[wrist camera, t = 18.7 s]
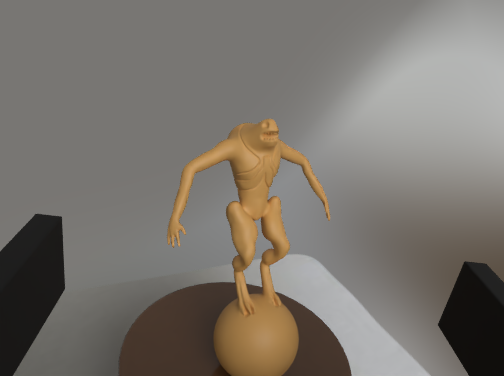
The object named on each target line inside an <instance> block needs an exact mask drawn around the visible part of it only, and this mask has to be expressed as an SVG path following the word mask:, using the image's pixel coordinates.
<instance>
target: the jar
mask: <svg viewBox="0 0 504 376" xmlns="http://www.w3.org/2000/svg"><path fill="white" fill-rule="evenodd" d="M246 286H247V290H248V293H249V294H262V293H263V287H259V286H254V285H249V284H246ZM275 293H276V294H277V295H278V297H279V299H280V300H281V303H282V304H284V305H285V306H286V307H287V309H288V310H289V311H290V312H291V314H292V316H293V317H294V320H295V322H296V325H297V328H298V335H299V344H298V350H297V354H296V356H295V359H294V361H293V363H292V364H291V366H290V367H289V369H288V370H287V371H286V372H285V373H284V374H283V375H281V376H351V370H350V366H349V363H348V359H347V357H346V354H345V352H344V350H343V348H342V346H341V344H340V343H339V341H338V339H337V338H336V336H335V335H334V334H333V332H332V331H331V330H330V328H329V327H328V326H327V325H326V324H325V323H324V322H323V321H322V320H321V319H320V318H319V317H317V316H316V315H315V314H314V313H313V312H312V311H310V310H309V309H307V308H306V307H305V306H303V305H302V304H300V303H298V302H296V301H295V300H293V299H291V298H289V297H287V296H285V295H283V294H280V293H278V292H275ZM237 298H238V296H237V290H236V284H235V283H232V282H216V283H206V284H199V285H194V286H190V287H186V288H183V289H180V290H177V291H175V292H173V293H170V294H168V295H166V296H164V297H163V298H161V299H159V300H158V301H156V302H155V303H153V304H152V305H151V306H149V307H148V308H147V309H146V310H145V311H144V312H143V313H142V314H141V315H140V316H139V317H138V318H137V319H136V321H135V322H134V323H133V324H132V326H131V328H130V329H129V331H128V333H127V335H126V337H125V339H124V342H123V345H122V347H121V352H120V357H119V376H231V375H230V374H229V373H227V372H226V370H225V369H224V368H223V367H222V365H221V364H220V362H219V360H218V358H217V356H216V353H215V349H214V341H213V337H214V329H215V325H216V322H217V320H218V318H219V316H220V314H221V312H222V311H223V310H224V309H225V307H226V306H227V305H228V304H230V303H231V302H232V301H234V300H235V299H237Z"/></svg>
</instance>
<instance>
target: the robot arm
mask: <svg viewBox="0 0 504 376" xmlns="http://www.w3.org/2000/svg"><path fill="white" fill-rule="evenodd" d="M64 289H65V279H64V257H63V235H62V217H59V216H51V215H42V214H35V215H34V217H33V218H32V219H31V220H30V221H29V222H28V223H27V224H26V225H25V226H24V227H23V228H22V229H21V230H20V231H19V232H18V233H17V234H16V235H15V237H14V238H13V239H12V240H11V241H10V242H9V243H8V244H7V245H6V246H5V247H4V248H3V249H2V250H1V251H0V376H13V374H14V373H15V371H16V369H17V368H18V366H19V365H20V363H21V361H22V360H23V358H24V356H25V355H26V353H27V351H28V350H29V348H30V346H31V345H32V343H33V341H34V340H35V338H36V336H37V335H38V333H39V331H40V330H41V328H42V326H43V325H44V323H45V321H46V320H47V318H48V316H49V315H50V313H51V311H52V310H53V308H54V306H55V305H56V303H57V301H58V300H59V298H60V296H61V295H62V293H63V291H64ZM438 326H439V328H440V329H441V331H442V332H443V334H444V336H445V337H446V339H447V340H448V342H449V344H450V345H451V347H452V349H453V350H454V352H455V354H456V355H457V357H458V358H459V360H460V362H461V363H462V365H463V367H464V368H465V370H466V371H467V373H468V375H469V376H504V282H503V281H502V280H501V279H500V278H499V277H498V276H497V275H496V274H495V273H494V272H493V271H492V270H491V269H490V268H489V266H488V265H487V264H483V263H474V262H464V264H463V266H462V269H461V271H460V273H459V276H458V278H457V281H456V283H455V285H454V288H453V290H452V293H451V295H450V297H449V300H448V302H447V304H446V307H445V309H444V311H443V314H442V316H441V319H440V321H439V323H438Z"/></svg>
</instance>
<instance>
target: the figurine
mask: <svg viewBox="0 0 504 376" xmlns="http://www.w3.org/2000/svg"><path fill="white" fill-rule="evenodd" d="M278 132H279V130H278V127H277V125H276V123H275V121H274V120H273V119H266V120H263V121H261V122H260V123H258V124H252V123H243V124H240V125H238V126H236V127H235V128H234V129H233V130H232V131H231V132H230V134H229V136H228V138H227V139H226V140H223V141H221V142H220V143H218V144H217V145H216V146H215V147H214V148H213V149H211V150H210V151H208V152H205V153H204V154H202V155H200V156H198V157H197V158H195V159H193V160H192V161H190V162H189V163H188V164H187V165H186V166H185V167H184V169H183V171H182V175H181V181H180V187H179V190H178V193H177V196H176V199H175V203H174V208H173V213H172V216H171V218H170V221H169V226H168V235H167V239H168V245H169V244H170V237H171V244H172V247H173V248H174V237H176V239H177V243H178V246H180V237H179V230H181V231H182V232H183V233H184V234H185V235H186V232H185V229H184V228H183V226H182V225H181V224H180V222H179V219H180V217H181V215H182V213H183V211H184V209H185V207H186V203H187V200H188V195H189V190H190V188H191V186H192V182H193V178H194V174H195V173H197V172H200V171H203V170H205V169H207V168H209V167H211V166H213V165H216V164H218V163H220V162H222V161H225V160H228V161H229V162H230V165H231V168H232V172H233V176H234V178H235V179H234V180H235V184H236V186H237V188H238V195H239V199H240V202H238V201H233V202H231V203H229V205H228V206H227V208H226V216H227V219H228V221H229V224H230V228H231V235H232V240H233V243H234V245H235V248H236V250H237V252H238V254H239V255H237V256H235V257H234V259H233V261H232V265H233V268H234V278H235V284H236V290H237V296H238V298H237V299H235V300H234V301H232V302H231V303H230V304H228V305H227V306H226V307H225V309H224V310H223V311H222V312H221V314H220V316H219V318H218V320H217V322H216V325H215V329H214V337H213V341H214V349H215V353H216V356H217V358H218V360H219V362H220V364H221V365H222V367H223V368H224V369H225V370H226V372H227V373H229V374H230V375H231V376H281V375H283V374H284V373H285V372H286V371H287V370H288V369H289V367H290V366H291V364H292V363H293V361H294V359H295V356H296V354H297V350H298V344H299V335H298V328H297V325H296V322H295V320H294V317H293V316H292V314H291V312H290V311H289V310H288V309H287V307H286V306H285V305H284V304H282V303H281V300H280V299H279V297H278V295H277V294H276V293H275V291H274V288H273V284H272V279H271V274H270V269H269V265H271V264H274V263H275V262H277V261H278V260H280V259H282V258H284V257H285V255H286V254H287V253H288V251H289V249H290V245H289V241H288V240H287V238H286V233H285V230H284V226H283V222H282V219H281V201H280V199H279V197H277V196H273V197H271V198H270V199H269V200H268V193H269V187H270V186H271V185H272V182H273V178H274V177H275V176H276V174H277V172H278V169H279V165H280V158H282V159H285V160H287V161H290V162H292V163H295V164H298V165H301V167H302V169H303V173H304V175H305V176H306V178H307V180H308V182H309V184H310V186H311V187H312V189H313V190H314V192H315V193H316V194H317V196H318V197H319V198H320V199H321V201H322V202H323V204H324V207H325V211H326V215H327V218H328V220H329V221H330V213H329V205H328V201H327V198H326V195H325V193H324V191H323V188H322V186H321V184H320V183H319V181H318V179H317V178H316V177H315V175H314V173H313V171H312V168H311V165H310V163H309V161H308V160H307V158H306V157H305V156H304V155H303V154H301V153H300V152H298V151H296V150H295V149H293V148H290V147H289V146H287V145H286V144H285V143H284V142H283V141H281V140H279V139H278ZM260 217H261V226H262V233H263V235H264V237H265V238H266V239H268V240H269V241H271V243H272V245H273V247H274V249H268V250H266V251H265V252H264V253H263V254H262V261H261V263H260V272H261V279H262V287H263V293H262V294H249V293H248V290H247V286H246V281H245V276H244V273H243V270H245V269H246V268H247V267H248V266H249V265H250V264H251V262H252V260H253V257H254V255H255V243H256V240H257V236H258V230H257V226H256V224H255V222H254V220H258V219H259V218H260Z"/></svg>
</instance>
